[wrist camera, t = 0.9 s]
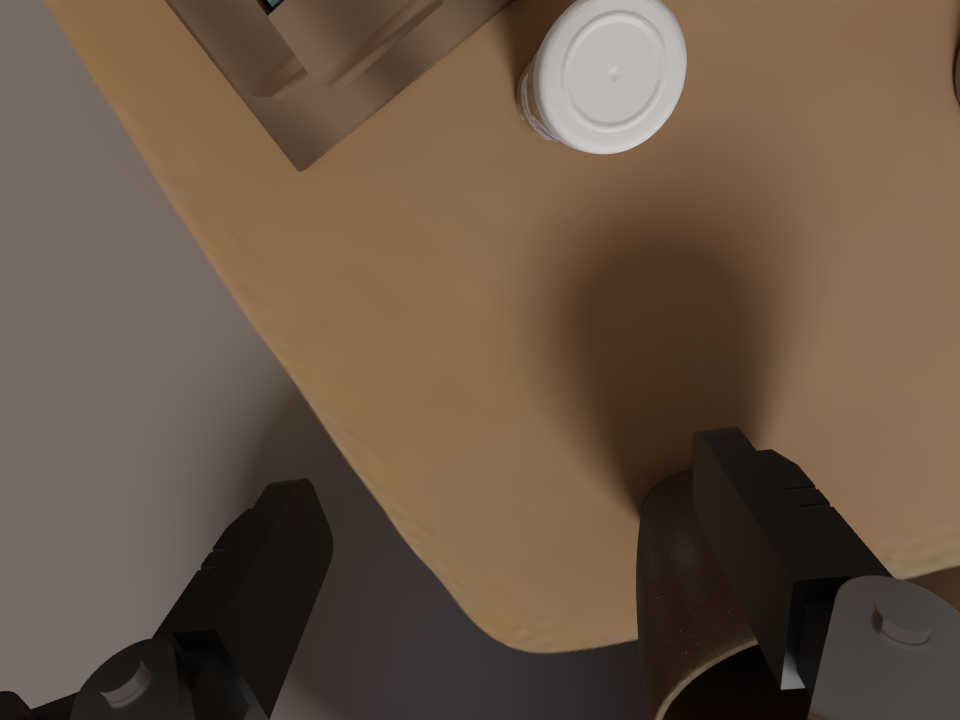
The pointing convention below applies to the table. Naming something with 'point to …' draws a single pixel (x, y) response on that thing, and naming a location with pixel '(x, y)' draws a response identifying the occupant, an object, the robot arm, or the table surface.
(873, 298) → the table surface
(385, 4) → the socket block
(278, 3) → the teal square tile
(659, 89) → the sprinkles bottle
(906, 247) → the table surface
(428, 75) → the table surface
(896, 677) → the robot arm
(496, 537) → the table surface
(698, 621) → the plant pot
